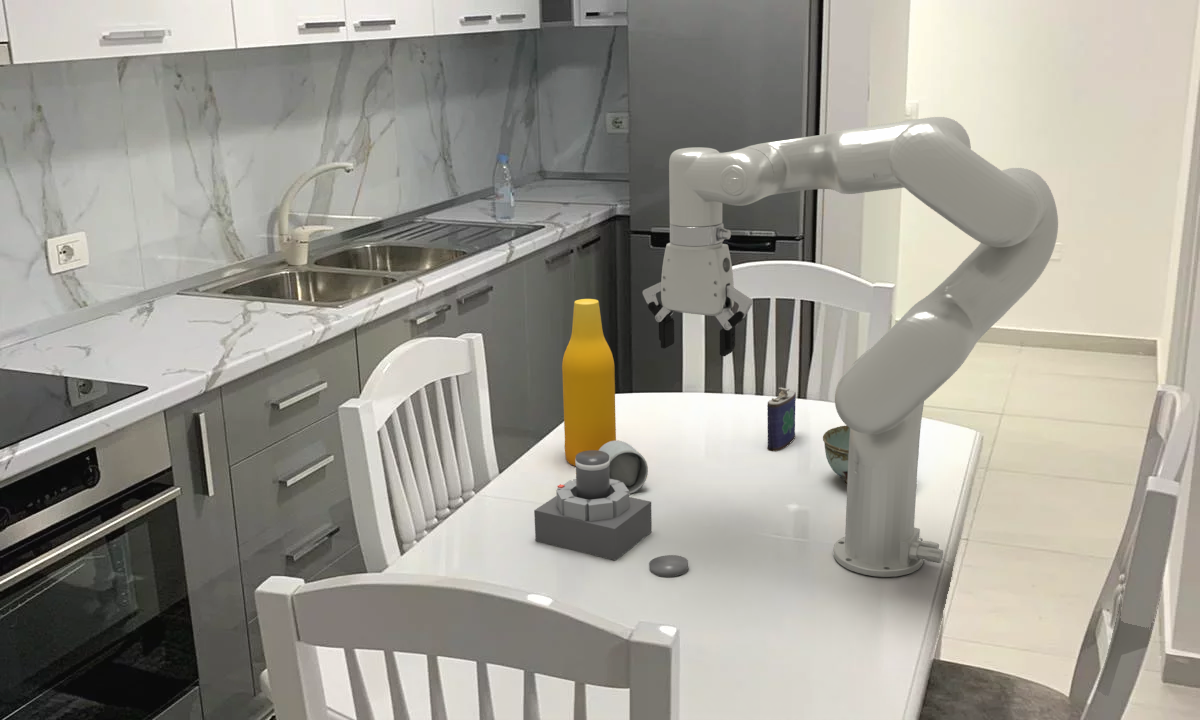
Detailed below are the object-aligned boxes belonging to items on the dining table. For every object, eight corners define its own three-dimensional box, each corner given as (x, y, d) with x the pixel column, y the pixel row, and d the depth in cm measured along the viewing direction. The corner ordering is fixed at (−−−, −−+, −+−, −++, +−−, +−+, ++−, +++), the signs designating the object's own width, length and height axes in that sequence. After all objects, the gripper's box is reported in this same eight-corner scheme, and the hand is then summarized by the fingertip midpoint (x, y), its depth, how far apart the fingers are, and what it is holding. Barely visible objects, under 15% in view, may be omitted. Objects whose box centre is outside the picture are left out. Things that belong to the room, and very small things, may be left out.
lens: (599, 496, 177) (598, 447, 175) (616, 508, 173) (615, 458, 170) (570, 503, 175) (569, 454, 172) (586, 515, 170) (585, 465, 168)
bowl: (853, 504, 184) (855, 458, 182) (805, 476, 196) (806, 432, 194) (921, 489, 189) (924, 443, 187) (871, 462, 201) (873, 419, 199)
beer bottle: (599, 472, 200) (595, 310, 191) (555, 463, 204) (549, 304, 196) (626, 455, 207) (623, 298, 199) (582, 446, 212) (578, 293, 203)
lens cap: (650, 578, 162) (649, 572, 162) (649, 562, 167) (648, 556, 167) (689, 575, 162) (689, 569, 161) (687, 559, 167) (687, 553, 167)
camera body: (651, 531, 176) (651, 485, 174) (615, 560, 167) (614, 511, 165) (574, 514, 183) (572, 469, 181) (535, 540, 174) (533, 493, 172)
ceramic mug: (634, 474, 199) (632, 432, 196) (649, 491, 191) (647, 448, 189) (574, 483, 196) (572, 440, 194) (587, 501, 188) (585, 457, 186)
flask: (784, 434, 215) (786, 379, 212) (799, 437, 214) (801, 382, 211) (764, 450, 208) (765, 393, 205) (779, 452, 207) (780, 396, 203)
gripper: (762, 235, 164) (760, 350, 169) (655, 227, 173) (656, 337, 177) (740, 244, 158) (739, 363, 163) (630, 235, 166) (633, 349, 171)
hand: (696, 349), depth 170 cm, fingers open, 9 cm apart
